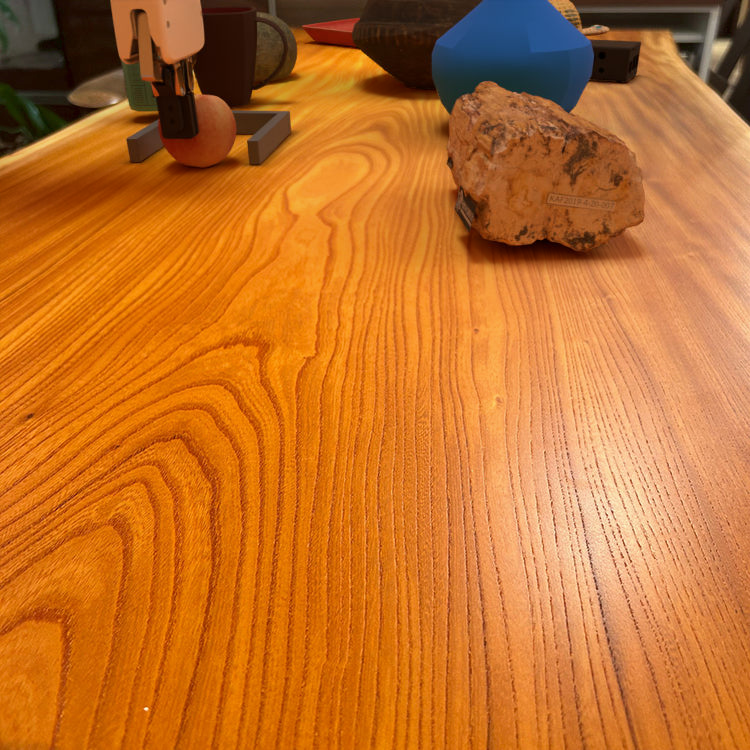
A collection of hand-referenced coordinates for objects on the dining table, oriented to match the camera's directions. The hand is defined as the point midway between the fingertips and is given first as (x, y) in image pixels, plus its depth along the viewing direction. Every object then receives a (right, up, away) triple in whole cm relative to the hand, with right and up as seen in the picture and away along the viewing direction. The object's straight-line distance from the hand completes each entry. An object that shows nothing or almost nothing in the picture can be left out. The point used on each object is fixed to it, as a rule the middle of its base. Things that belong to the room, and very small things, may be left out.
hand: (181, 136), depth 75 cm
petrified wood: (+32, -10, -9) cm, 34 cm away
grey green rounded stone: (-1, +25, +51) cm, 57 cm away
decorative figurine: (+51, +37, +69) cm, 93 cm away
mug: (0, +15, +33) cm, 36 cm away
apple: (+1, -1, +7) cm, 7 cm away
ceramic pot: (+28, +21, +43) cm, 56 cm away
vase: (+35, +6, +18) cm, 39 cm away
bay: (+1, +3, +13) cm, 13 cm away
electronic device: (+53, +23, +46) cm, 74 cm away
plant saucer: (+16, +46, +86) cm, 99 cm away
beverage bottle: (-10, +10, +26) cm, 30 cm away
